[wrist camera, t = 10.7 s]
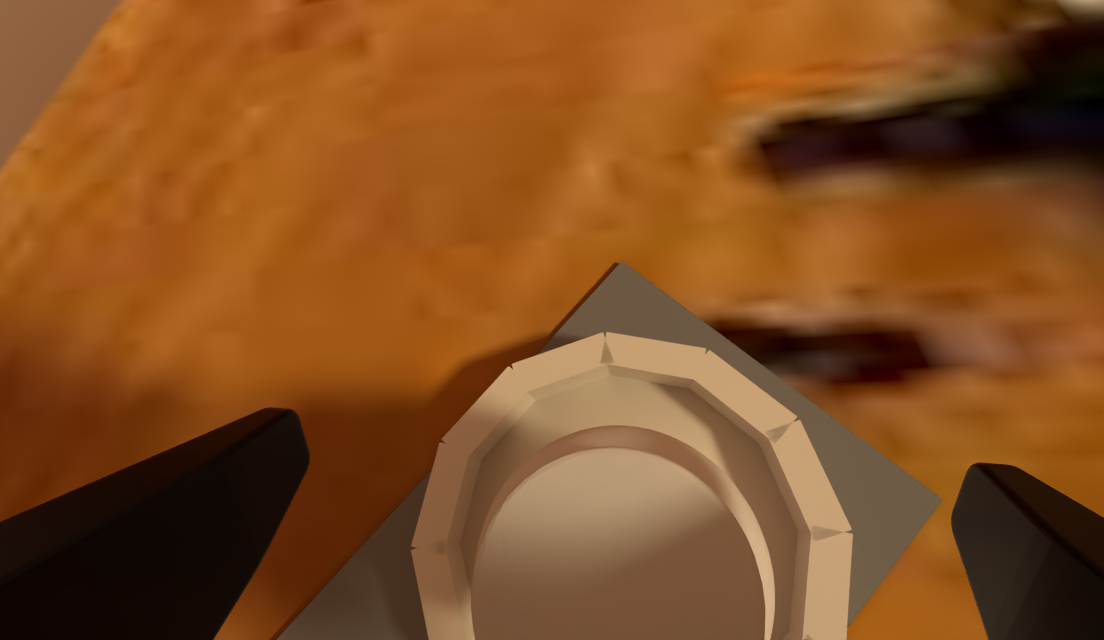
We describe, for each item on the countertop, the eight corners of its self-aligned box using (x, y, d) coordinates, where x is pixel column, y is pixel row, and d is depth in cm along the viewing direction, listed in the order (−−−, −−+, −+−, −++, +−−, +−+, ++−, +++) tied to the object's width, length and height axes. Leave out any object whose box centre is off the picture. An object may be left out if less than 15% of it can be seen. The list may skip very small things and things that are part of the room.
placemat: (462, 1142, 14) (459, 1151, 13) (201, 724, 18) (196, 726, 17) (939, 499, 16) (942, 499, 16) (622, 263, 20) (621, 261, 20)
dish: (649, 879, 15) (649, 931, 13) (368, 547, 18) (338, 550, 17) (911, 527, 16) (944, 528, 14) (603, 288, 20) (599, 266, 18)
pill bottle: (502, 551, 17) (335, 598, 8) (621, 419, 18) (590, 323, 9) (639, 702, 15) (624, 980, 6) (765, 548, 16) (916, 597, 7)
